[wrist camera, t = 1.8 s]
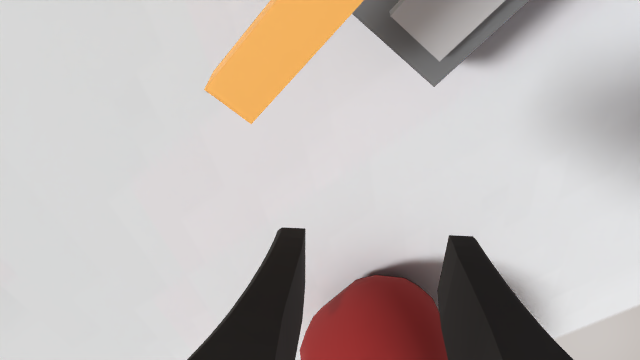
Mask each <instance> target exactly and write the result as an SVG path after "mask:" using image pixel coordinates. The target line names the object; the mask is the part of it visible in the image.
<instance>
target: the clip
mask: <svg viewBox="0 0 640 360" xmlns="http://www.w3.org/2000/svg"><path fill="white" fill-rule="evenodd" d="M363 1H364V0H270V2H269V3H268V4H267V5H266V7H265V8H264V9H263V10H262V12H261V13H260V14H259V15H258V17H257V18H256V19H255V20H254V22H253V23H252V24H251V25H250V27H249V28H248V29H247V30H246V32H245V33H244V34H243V35H242V37H241V38H240V39H239V40H238V42H237V43H236V44H235V45H234V46H233V48H232V49H231V50H230V51H229V53H228V54H227V55H226V56H225V58H224V59H223V60H222V61H221V63H220V64H219V65H218V66H217V68H216V69H215V70H214V71H213V73H212V75H211V77H210V79H209V81H208V83H207V85H206V87H205V89H204V90H206V91H207V92H208V93H210V94H211V95H212V96H214V97H215V98H216V99H218V100H219V101H221V102H222V103H223V104H225V105H226V106H227V107H229V108H230V109H231V110H233V111H234V112H236V113H237V114H238V115H240V116H241V117H242V118H244V119H245V120H246V121H248V122H249V123H251V124H252V123H253V121H254V120H255V119H256V118H257V117H258V116H259V115H260V114H261V113H262V112H263V111H264V109H265V108H266V107H267V106H268V105H269V104H270V103H271V102H272V101H273V100H274V98H275V97H276V96H277V95H278V94H279V93H280V92H281V91H282V90H283V89H284V87H285V86H286V85H287V84H288V83H289V82H290V81H291V80H292V79H293V78H294V76H295V75H296V74H297V73H298V72H299V71H300V70H301V69H302V68H303V67H304V65H305V64H306V63H307V62H308V61H309V60H310V59H311V58H312V57H313V56H314V55H315V53H316V52H317V51H318V50H319V49H320V48H321V47H322V46H323V45H324V44H325V42H326V41H327V40H328V39H329V38H330V37H331V36H332V35H333V34H334V33H335V31H336V30H337V29H338V28H339V27H340V26H341V25H342V24H343V23H344V22H345V20H346V19H347V18H348V17H349V16H350V15H351V14H352V13H353V12H354V11H355V9H356V8H357V7H358V6H359V5H360V4H361V3H362V2H363Z"/></svg>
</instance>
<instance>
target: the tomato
mask: <svg viewBox="0 0 640 360" xmlns="http://www.w3.org/2000/svg"><path fill="white" fill-rule="evenodd" d="M300 355H301V360H448V357H447V353H446V348H445V344H444V339H443V335H442V330H441V323H440V314H439V311H438V309H437V307H436V305H435V303H434V301H433V299H432V298H431V297H430V296H429V295H428V294H427V293H426V292H425V291H424V290H422V289H421V288H420V287H419V286H417V285H416V284H414V283H412V282H411V281H409V280H407V279H405V278H400V277H391V276H381V275H373V276H369V277H365V278H361V279H357V280H355V281H354V282H353V283H352V284H350V285H349V286H348V287H347V288H345V289H344V290H343V291H342V292H340V293H339V294H338V295H337V296H336V297H334V298H333V299H332V300H331V301H329V302H328V303H327V304H326V305H324V306H323V307H322V308H321V309H320V310H319V311H318V312H317V314H316V315H315V316H314V317H313V318H312V320H311V322H310V325H309V327H308V329H307V331H306V333H305V336H304V339H303V342H302V345H301V348H300Z"/></svg>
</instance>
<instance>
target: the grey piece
mask: <svg viewBox="0 0 640 360" xmlns="http://www.w3.org/2000/svg"><path fill="white" fill-rule="evenodd" d="M528 1H530V0H364V1H363V2H362V3H361V4H360V5H359V6H358V7H357V8H356V9H355V11H354V12H353V13H352V14H353V15H354V16H355V17H356V18H358V19H359V20H360V21H361V22H362V23H363V24H364V25H365V26H366V27H368V28H369V29H370V30H371V31H372V32H373V33H374V34H375V35H377V36H378V37H379V38H380V39H381V40H382V41H383V42H384V43H385V44H387V45H388V46H389V47H390V48H391V49H392V50H393V51H394V52H395V53H397V54H398V55H399V56H400V57H401V58H402V59H403V60H404V61H406V62H407V63H408V64H409V65H410V66H411V67H412V68H413V69H414V70H416V71H417V72H418V73H419V74H420V75H421V76H422V77H423V78H425V79H426V80H427V81H428V82H429V83H430V84H431V85H432V86H433V87H435V86H436V85H437V84H438V83H439V82H440V81H441V80H442V79H444V78H445V77H446V76H447V75H448V74H449V73H450V72H451V71H452V70H453V69H455V68H456V67H457V66H458V65H459V64H460V63H461V62H462V61H463V60H464V59H466V58H467V57H468V56H469V55H470V54H471V53H472V52H473V51H474V50H476V49H477V48H478V47H479V46H480V45H481V44H482V43H483V42H484V41H485V40H487V39H488V38H489V37H490V36H491V35H492V34H493V33H494V32H495V31H496V30H498V29H499V28H500V27H501V26H502V25H503V24H504V23H505V22H506V21H507V20H509V19H510V18H511V17H512V16H513V15H514V14H515V13H516V12H517V11H518V10H520V9H521V8H522V7H523V6H524V5H525V4H526V3H527V2H528Z"/></svg>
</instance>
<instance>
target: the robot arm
mask: <svg viewBox="0 0 640 360" xmlns="http://www.w3.org/2000/svg"><path fill="white" fill-rule="evenodd" d="M304 292H305V229H301V228H281V229H279V230H278V231H277V234H276V237H275V239H274V241H273V243H272V245H271V247H270V249H269V251H268V253H267V255H266V257H265V259H264V261H263V262H262V264H261V266H260V267H259V269H258V271H257V272H256V274H255V276H254V277H253V279H252V280H251V282H250V284H249V285H248V287H247V288H246V290H245V291H244V292H243V294H242V295H241V297H240V298H239V299H238V301H237V302H236V304H235V305H234V306H233V308H232V309H231V310H230V312H229V313H228V314H227V316H226V317H225V318H224V319H223V321H222V322H221V323H220V324H219V325H218V327H217V328H216V329H215V330H214V331H213V332H212V334H211V335H210V336H209V337H208V338H207V339H206V340H205V341H204V343H203V344H202V345H201V346H200V347H199V348H198V349H197V350H196V351H195V352H194V353H193V354H192V355H191V356H190V357H189V358H188V359H187V360H295V357H296V351H297V346H298V340H299V335H300V330H301V324H302V317H303V305H304ZM438 303H439V314H440V323H441V330H442V335H443V339H444V344H445V348H446V353H447V357H448V360H573V359H572V358H571V357H570V356H569V355H568V354H567V353H566V352H565V351H564V350H563V349H562V348H561V347H560V346H559V345H558V344H557V343H556V342H555V341H554V340H553V338H552V337H551V336H550V335H549V334H548V333H547V332H546V331H545V330H544V329H543V328H542V326H541V325H540V324H539V323H538V322H537V321H536V319H535V318H534V317H533V316H532V315H531V314H530V313H529V311H528V310H527V309H526V308H525V306H524V305H523V304H522V303H521V301H520V300H519V299H518V298H517V296H516V295H515V294H514V292H513V291H512V290H511V289H510V287H509V286H508V285H507V283H506V282H505V281H504V279H503V278H502V277H501V275H500V274H499V272H498V271H497V270H496V268H495V267H494V265H493V264H492V263H491V261H490V260H489V258H488V257H487V255H486V254H485V252H484V251H483V249H482V248H481V246H480V245H479V243H478V242H477V240H476V239H475V238H474V237H473V236H451V235H449V238H448V243H447V248H446V253H445V257H444V262H443V267H442V272H441V276H440V281H439V286H438Z"/></svg>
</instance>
